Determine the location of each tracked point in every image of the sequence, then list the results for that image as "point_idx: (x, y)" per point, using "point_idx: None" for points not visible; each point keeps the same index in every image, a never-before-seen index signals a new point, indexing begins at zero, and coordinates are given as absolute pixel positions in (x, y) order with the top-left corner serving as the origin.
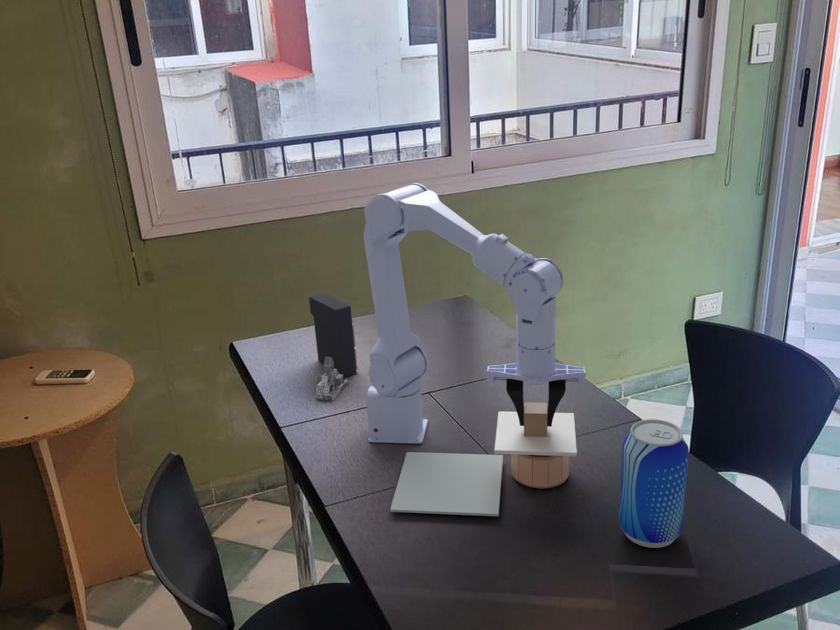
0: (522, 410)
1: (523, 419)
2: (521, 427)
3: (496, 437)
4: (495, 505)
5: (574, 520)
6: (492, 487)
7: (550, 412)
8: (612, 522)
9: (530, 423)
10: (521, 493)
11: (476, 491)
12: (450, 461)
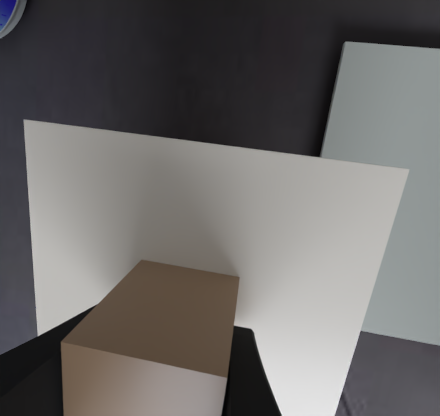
0: (234, 407)
1: (233, 348)
2: None
3: (371, 283)
4: (347, 86)
5: (145, 49)
6: None
7: (40, 353)
8: (61, 40)
9: (196, 312)
10: None
11: (390, 160)
12: (438, 307)
